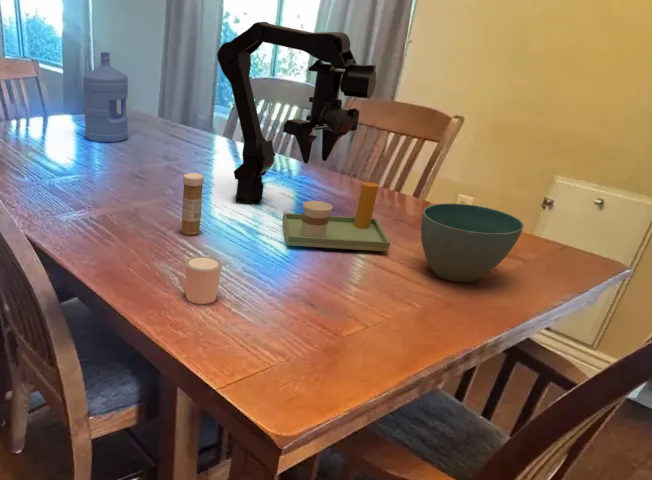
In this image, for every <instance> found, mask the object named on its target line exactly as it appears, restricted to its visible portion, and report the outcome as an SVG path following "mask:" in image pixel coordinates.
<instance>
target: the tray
mask: <svg viewBox="0 0 652 480" xmlns="http://www.w3.org/2000/svg"><path fill="white" fill-rule="evenodd" d="M379 187H380V185H379V184H378V183H376V182H372V181H365V182H362V184H361V188H360V189H361V190H360V195H359V199H358V204H357V208H356V212H355V216H341V215H330V217H329V222H328V224H327V230H326V235H325V238H316V237H302V236H301V235H300V232H301V226H302V215H303V213H289V212H288V213H287V212H283V213H282V221H281V222H282V226H283V230H284V231H283V232H284V236H285V241H286V245H287V246H293V247H294V246H295V247H309V248H317V247H325V248H341V249H354V250H357V251H373V252H389V250H390V246H391V242H390V239H389V238H388V237H387V235H386V233H385V231H384V230H383V228H382V226H381V224H380V223H379V221H378V220H377V218H375V217H374V218H373V214H374V210H375V206H376V205H375V204H376V202H377V201H376V200H377V196H378V192H379Z"/></svg>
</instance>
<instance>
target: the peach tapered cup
mask: <svg viewBox="0 0 652 480" xmlns="http://www.w3.org/2000/svg"><path fill="white" fill-rule="evenodd" d="M222 268H223V263H222V261H221V260H219V259H217V258H215V257H212V256H204V255H199V256H197V255H196V256H191V257H188V258H187V259H186V260H185V262H184V272H185V273H184V275H185V297H186V299H187V301H189V302H190V303H194V304H196V305H197V304H198V305H207V304H211V303H214V302H215V301H216V300H217V294H218V288H219V284H220V278H221V274H222V273H221V272H222Z"/></svg>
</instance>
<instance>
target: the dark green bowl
mask: <svg viewBox="0 0 652 480" xmlns="http://www.w3.org/2000/svg"><path fill="white" fill-rule="evenodd" d="M524 227H525V225H524V223H523V222H522V221H521V220H520V219H519V218H517V217H515V216H514V215H512V214H509V213H506V212H504V211H501V210H498V209H495V208H490V207H486V206H480V205H474V204H467V203H454V202H453V203H452V202H451V203H450V202H449V203H436V204H432V205H429V206H426V207H424V209H423V211H422V215H421V223H420V238H421V245H422V250H423V253H424V256H425V259H426V262H427V263H428V265H429V267H430V269H431V270H432V272H433V273H434V274H435V276H437V277H439V278H441V279H444V280H447V281H450V282H455V283H472V282H475V281H477V280H480V279H481V278H482V277H484V276H485V275H487V274H488V273H490V272H491V271H492V270H494V269H495V268H496V267H497V266H498V265H499V264H501V262H503V260H505V258H506V257H507V256H508V255H509V253H510V252H511V250H512V249H513V247H514V246H515V245H516V243H517V242H518V240H519V238H520V236H521V234H522V233H523V229H524Z"/></svg>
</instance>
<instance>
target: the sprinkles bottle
mask: <svg viewBox="0 0 652 480" xmlns="http://www.w3.org/2000/svg"><path fill="white" fill-rule="evenodd" d="M204 178H205V177H204V175H203V174H201V173H197V172H189V173H185V174H184V175H183V178H182V179H183V180H182V184H183V194H182V207H181V229H180V232H181V233H182V234H184V235H188V236H195V235H198V234H200V232H201V230H200V228H201V218H202V206H203V205H202V204H203V186H204V180H205V179H204Z"/></svg>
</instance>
